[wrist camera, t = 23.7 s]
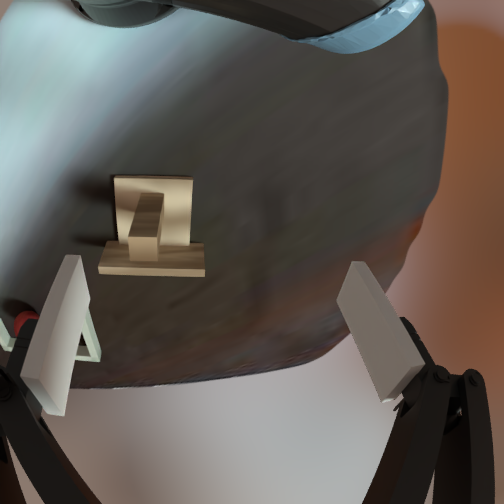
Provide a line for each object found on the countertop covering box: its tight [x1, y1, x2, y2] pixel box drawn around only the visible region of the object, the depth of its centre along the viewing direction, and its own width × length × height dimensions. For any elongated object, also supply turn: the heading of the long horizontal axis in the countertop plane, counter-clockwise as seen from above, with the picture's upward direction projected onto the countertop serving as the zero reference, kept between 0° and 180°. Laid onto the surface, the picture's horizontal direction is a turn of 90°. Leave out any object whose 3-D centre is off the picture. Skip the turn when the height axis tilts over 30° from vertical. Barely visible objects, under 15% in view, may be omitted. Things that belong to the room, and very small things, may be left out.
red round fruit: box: [14, 311, 40, 336], centre depth 45 cm, size 6×6×8 cm
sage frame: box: [0, 309, 101, 362], centre depth 48 cm, size 20×23×2 cm
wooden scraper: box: [98, 176, 205, 277], centre depth 38 cm, size 11×14×11 cm
